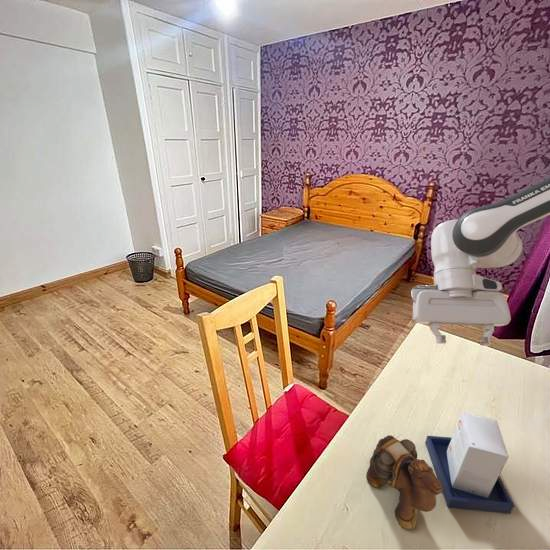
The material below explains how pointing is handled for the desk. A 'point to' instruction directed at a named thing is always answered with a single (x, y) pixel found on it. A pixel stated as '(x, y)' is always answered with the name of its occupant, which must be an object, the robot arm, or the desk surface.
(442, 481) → the tray
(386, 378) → the desk surface
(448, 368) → the desk surface
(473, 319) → the robot arm
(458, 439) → the small box
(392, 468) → the figurine
